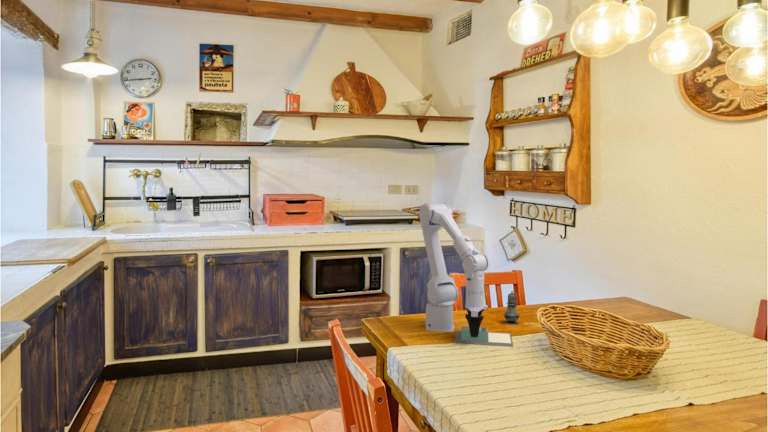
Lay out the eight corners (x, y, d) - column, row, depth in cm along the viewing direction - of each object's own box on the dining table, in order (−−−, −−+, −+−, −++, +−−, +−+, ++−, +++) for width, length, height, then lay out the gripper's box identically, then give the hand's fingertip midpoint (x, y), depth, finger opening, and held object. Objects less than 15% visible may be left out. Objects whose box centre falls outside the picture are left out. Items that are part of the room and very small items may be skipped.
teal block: (461, 340, 158) (461, 329, 158) (461, 336, 162) (461, 326, 162) (486, 342, 157) (487, 331, 157) (486, 338, 161) (486, 327, 160)
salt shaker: (513, 326, 175) (513, 293, 175) (499, 323, 180) (500, 290, 179) (523, 323, 179) (523, 291, 178) (509, 320, 184) (510, 288, 183)
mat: (454, 344, 156) (454, 342, 156) (456, 331, 170) (456, 329, 169) (513, 348, 152) (513, 346, 152) (510, 335, 166) (510, 332, 166)
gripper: (487, 297, 151) (487, 340, 151) (487, 287, 165) (486, 327, 166) (464, 296, 152) (464, 339, 153) (465, 286, 166) (465, 326, 167)
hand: (474, 333), depth 159 cm, fingers open, 7 cm apart
